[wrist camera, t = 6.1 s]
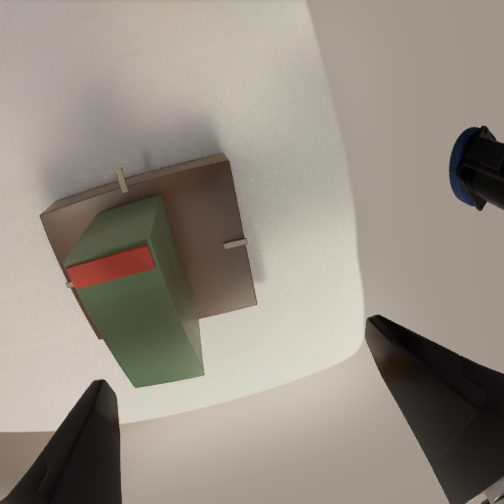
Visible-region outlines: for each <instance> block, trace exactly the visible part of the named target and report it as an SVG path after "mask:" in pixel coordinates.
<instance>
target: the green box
mask: <svg viewBox="0 0 504 504" xmlns="http://www.w3.org/2000/svg"><path fill="white" fill-rule="evenodd" d="M63 264H64V266H65V269H66V271H67V273H68V275H69V277H70V279H71V282H72V284H73V286H74V288H75V289H76V291H77V293H78V295H79V297H80V299H81V301H82V303H83V304H84V306H85V308H86V310H87V312H88V314H89V315H90V317H91V319H92V321H93V323H94V324H95V326H96V328H97V330H98V331H99V333H100V335H101V336H102V338H103V340H104V341H105V343H106V345H107V346H108V348H109V349H110V351H111V353H112V354H113V356H114V357H115V359H116V361H117V362H118V364H119V365H120V367H121V368H122V370H123V371H124V373H125V374H126V376H127V377H128V379H129V380H130V381H131V383H132V384H133V386H134V387H135V388H139V387H145V386H151V385H157V384H163V383H168V382H174V381H179V380H184V379H189V378H194V377H199V376H203V375H204V367H203V358H202V349H201V339H200V329H199V318H198V307H197V305H196V302H195V299H194V296H193V293H192V290H191V287H190V284H189V281H188V278H187V275H186V272H185V269H184V266H183V263H182V260H181V257H180V254H179V251H178V248H177V244H176V241H175V238H174V235H173V231H172V228H171V225H170V221H169V218H168V215H167V211H166V208H165V204H164V201H163V197H162V195H158V196H154V197H150V198H147V199H143V200H140V201H137V202H133V203H130V204H126V205H123V206H120V207H116V208H113V209H110V210H107V211H104V212H100V213H98V214H97V215H96V217H95V218H94V219H93V221H92V222H91V223H90V225H89V226H88V227H87V229H86V230H85V232H84V233H83V234H82V236H81V237H80V239H79V240H78V242H77V243H76V245H75V246H74V247H73V249H72V250H71V252H70V253H69V255H68V256H67V258H66V259H65V261H64V262H63Z"/></svg>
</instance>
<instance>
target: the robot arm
mask: <svg viewBox="0 0 504 504" xmlns="http://www.w3.org/2000/svg"><path fill="white" fill-rule="evenodd" d="M455 174H456V177H457V178H458V180H459V181H460V183H461V184H462V186H463V188H464V189H465V191H466V192H467V194H468V196H469V197H470V199H471V201H472V202H473V204H474V206H475V207H476V209H477V210H479V211H481V210H482V209H483V207H484V206H485V204H486V202H489V203H491V204H493V205H495V206H497V207H499V208H501V209H503V210H504V143H501V142H498V141H494V139H493V137H492V135H491V133H490V131H489V129H488V128H487V127H486V126H481V128H480V130H479V131H478V133H477V135H476V137H475V138H474V140H473V142H472V144H471V145H470V147H469V149H468V151H467V152H466V154H465V156H464V157H463V159H462V161H461V162H460V164H459V166H458V167H457V169H456V172H455ZM365 339H366V342H367V344H368V347H369V349H370V351H371V353H372V356H373V358H374V360H375V362H376V365H377V367H378V369H379V372H380V374H381V376H382V378H383V379H384V382H385V383H386V385H387V387H388V388H389V390H390V392H391V394H392V396H393V397H394V399H395V401H396V402H397V404H398V406H399V408H400V410H401V411H402V413H403V415H404V416H405V418H406V420H407V422H408V424H409V426H410V428H411V429H412V431H413V433H414V435H415V437H416V439H417V440H418V442H419V444H420V446H421V448H422V450H423V451H424V454H425V455H426V457H427V459H428V461H429V463H430V465H431V467H432V469H433V471H434V473H435V475H436V477H437V479H438V481H439V483H440V485H441V487H442V489H443V491H444V493H445V495H446V497H447V499H448V500H449V503H450V504H467V503H468V502H470V501H471V500H473V499H475V498H476V497H477V496H479V495H481V494H482V493H485V495H486V497H487V499H486V500H484V501H483V502H482V503H481V504H504V374H503V373H500V372H497V371H495V370H492V369H489V368H487V367H485V366H482V365H479V364H477V363H475V362H473V361H471V360H469V359H467V358H465V357H463V356H459V355H458V354H457V353H455V352H453V351H451V350H449V349H447V348H445V347H443V346H441V345H439V344H437V343H435V342H433V341H431V340H429V339H427V338H425V337H423V336H421V335H418V334H417V333H415V332H413V331H411V330H409V329H407V328H405V327H403V326H401V325H399V324H397V323H395V322H393V321H391V320H389V319H387V318H385V317H383V316H381V315H374V316H371V317H368V318H367V320H366V329H365ZM0 504H122V496H121V472H120V429H119V418H118V405H117V397H116V394H115V392H114V391H113V390H112V388H111V387H110V386H109V384H108V383H107V382H106V381H105V380H103V379H101V380H94V381H93V382H92V383H91V384H90V386H89V387H88V388H87V390H86V391H85V392H84V394H83V395H82V396H81V398H80V399H79V401H78V402H77V403H76V405H75V406H74V407H73V409H72V410H71V411H70V413H69V414H68V416H67V417H66V418H65V420H64V421H63V422H62V424H61V425H60V427H59V428H58V429H57V431H56V432H55V434H54V435H53V436H52V438H51V440H50V441H49V442H48V444H47V445H46V446H45V448H44V449H43V451H42V452H41V453H40V455H39V456H38V458H37V459H36V461H35V462H34V463H33V465H32V466H31V467H30V469H29V470H28V471H27V473H26V474H25V475H24V476H23V478H22V479H21V480H20V481H19V482H18V484H17V485H16V486H15V487H14V488H13V490H12V491H11V492H10V493H9V495H8V496H7V497H5V498H4V499H3V500H1V501H0Z"/></svg>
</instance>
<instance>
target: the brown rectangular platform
mask: <svg viewBox="0 0 504 504" xmlns="http://www.w3.org/2000/svg"><path fill="white" fill-rule="evenodd" d="M116 173H117V177H118V180H119V181H117V182H113V183H110V184H107V185H104V186H101V187H98V188H95V189H92V190H89V191H86V192H83V193H80V194H77V195H74V196H71V197H69V198H66V199H63V200H60V201H58V202H55V203H53V204H52V205H51V206H50V207H49V208H47V209H46V210H45V211H44V212H43V213H42V214H41V215H40V218H41V221H42V224H43V226H44V229H45V231H46V234H47V236H48V239H49V241H50V244H51V246H52V248H53V251H54V253H55V255H56V258H57V260H58V262H59V264H60V266H61V269H62V271H63V273H64V275H65V277H66V279H67V281H68V282H67V283H66V285H67V287H68V288H70V287H71V289H72V291H73V293H74V295H75V297H76V299H77V301H78V303H79V305H80V307H81V309H82V311H83V312H84V314H85V316H86V318H87V320H88V321H89V323H90V325H91V327H92V329H93V330H94V332H95V334H96V335H97V337H98V339H103V338H102V336H101V335H100V333H99V331H98V330H97V328H96V326H95V324H94V323H93V321H92V319H91V317H90V315H89V314H88V312H87V310H86V308H85V306H84V304H83V303H82V301H81V299H80V297H79V295H78V293H77V291H76V289H75V288H74V286H73V284H72V282H71V279H70V277H69V275H68V273H67V271H66V269H65V266H64V264H63V262H64V261H65V259H66V258H67V256H68V255H69V253H70V252H71V250H72V249H73V247H74V246H75V245H76V243H77V242H78V240H79V239H80V237H81V236H82V234H83V233H84V232H85V230H86V229H87V227H88V226H89V225H90V223H91V222H92V221H93V219H94V218H95V217H96V215H97V214H98V213H100V212H104V211H107V210H110V209H113V208H116V207H120V206H123V205H126V204H130V203H133V202H137V201H140V200H143V199H147V198H150V197H154V196H158V195H162V197H163V201H164V204H165V208H166V211H167V215H168V218H169V221H170V225H171V228H172V231H173V235H174V238H175V241H176V244H177V248H178V251H179V254H180V257H181V260H182V263H183V266H184V269H185V272H186V275H187V278H188V281H189V284H190V287H191V290H192V293H193V296H194V299H195V302H196V305H197V307H198V318H199V319H201V318H205V317H209V316H213V315H218V314H222V313H226V312H230V311H234V310H238V309H242V308H246V307H250V306H254V305H257V300H256V295H255V290H254V285H253V280H252V274H251V269H250V264H249V259H248V254H247V249H246V244H247V239H246V238H244V234H243V229H242V223H241V218H240V213H239V208H238V203H237V198H236V193H235V187H234V182H233V177H232V172H231V167H230V162H229V160H228V158H227V157H226V156H225V154H220V155H215V156H211V157H207V158H202V159H198V160H194V161H190V162H185V163H181V164H177V165H173V166H170V167H166V168H162V169H158V170H155V171H151V172H147V173H144V174H140V175H137V176H133V177H130V178H127V179H125V177H124V173H123V169H122V167H121V168H118V169H116Z"/></svg>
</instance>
